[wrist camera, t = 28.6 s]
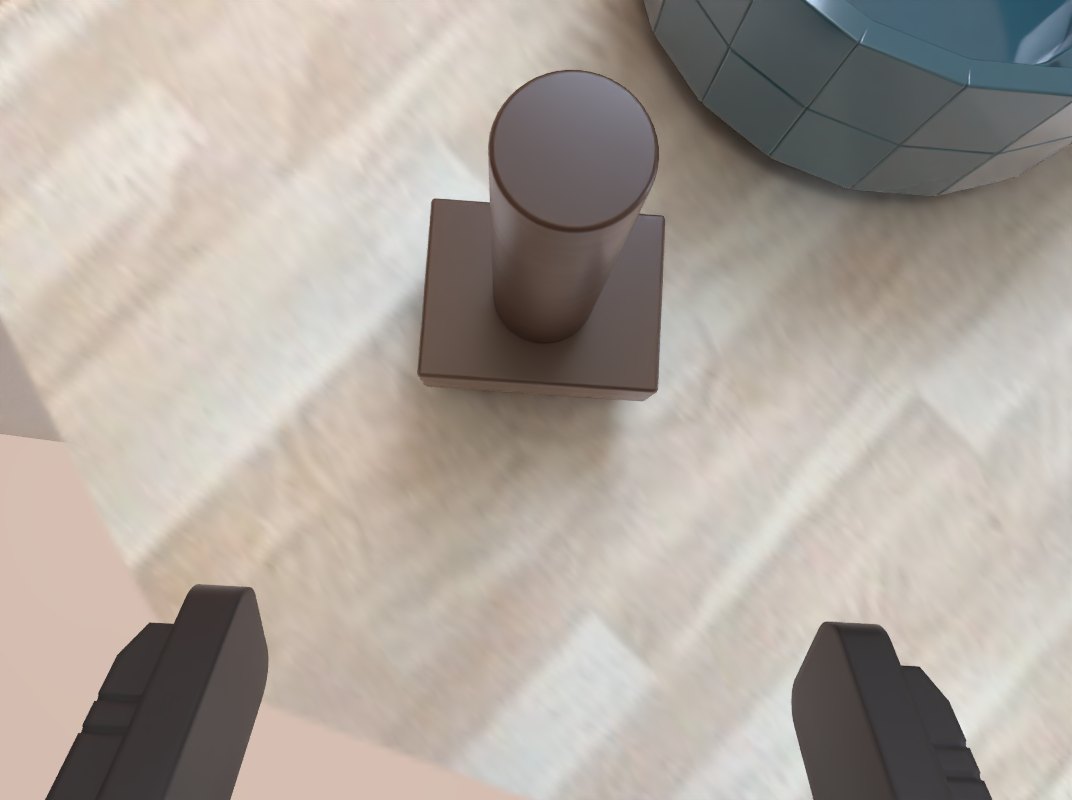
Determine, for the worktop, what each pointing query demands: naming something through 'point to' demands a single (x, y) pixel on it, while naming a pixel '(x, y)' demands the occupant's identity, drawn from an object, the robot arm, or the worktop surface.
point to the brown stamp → (552, 252)
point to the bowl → (882, 84)
